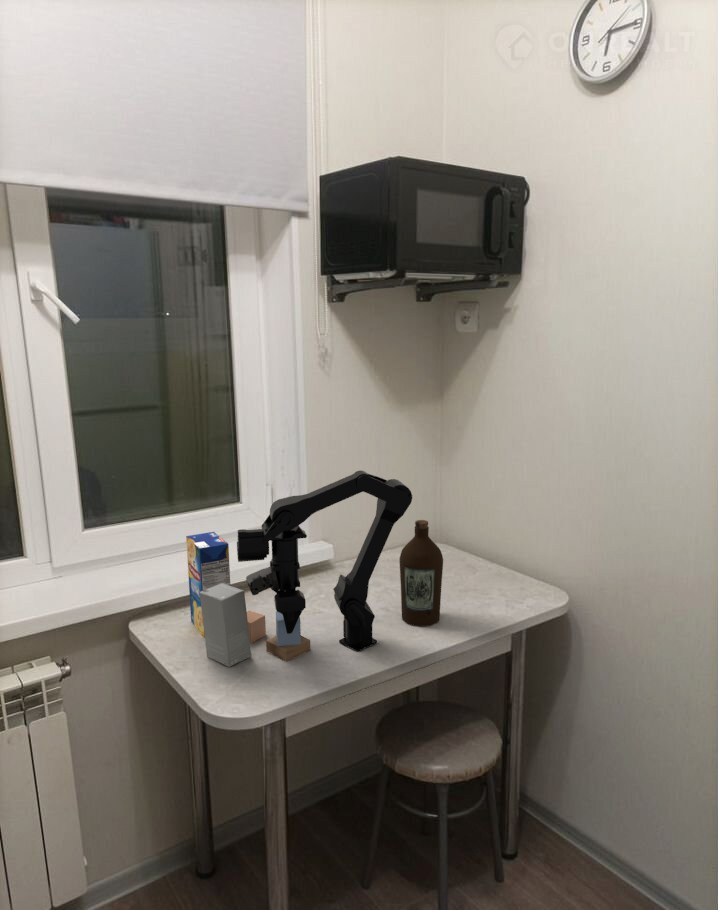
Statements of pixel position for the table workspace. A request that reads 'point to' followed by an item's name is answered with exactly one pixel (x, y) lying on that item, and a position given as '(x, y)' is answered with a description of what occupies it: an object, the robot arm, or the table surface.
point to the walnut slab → (287, 648)
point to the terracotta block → (256, 625)
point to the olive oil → (421, 578)
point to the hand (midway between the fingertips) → (287, 624)
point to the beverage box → (205, 569)
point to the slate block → (282, 634)
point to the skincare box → (225, 624)
